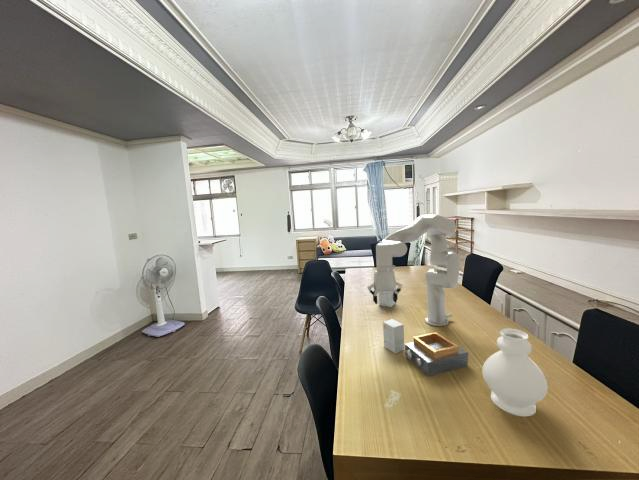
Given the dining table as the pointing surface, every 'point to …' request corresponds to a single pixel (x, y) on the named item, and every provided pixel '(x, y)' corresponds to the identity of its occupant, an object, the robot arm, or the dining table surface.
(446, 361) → the frame
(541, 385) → the decorative vase
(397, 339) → the small box
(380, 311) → the dining table surface
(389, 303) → the supplement box
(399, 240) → the robot arm
